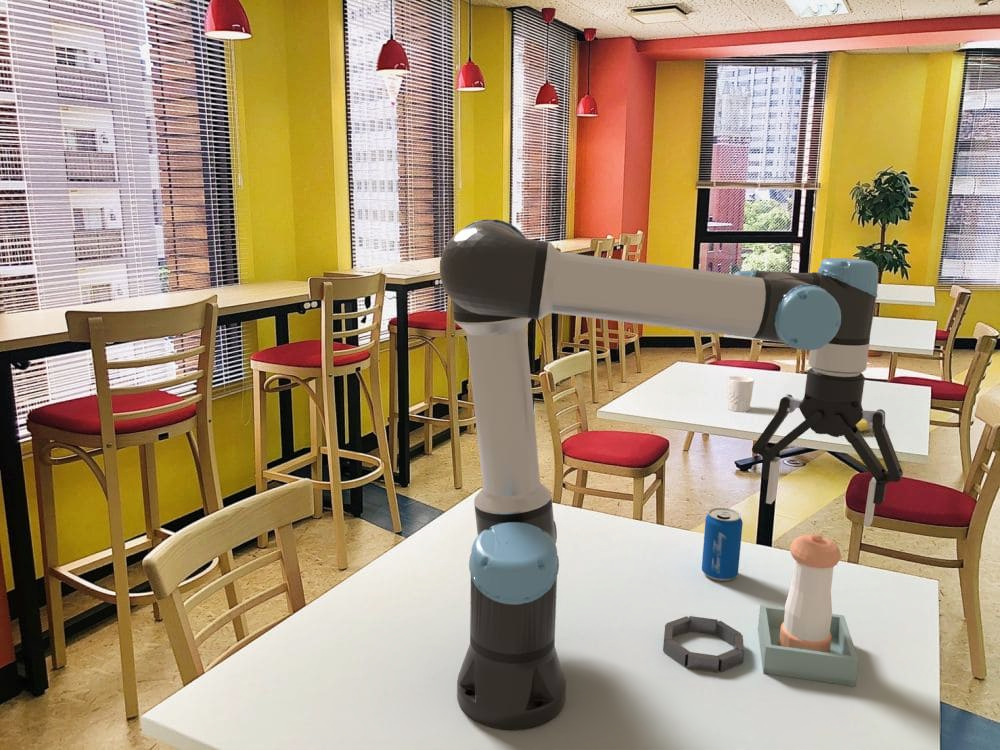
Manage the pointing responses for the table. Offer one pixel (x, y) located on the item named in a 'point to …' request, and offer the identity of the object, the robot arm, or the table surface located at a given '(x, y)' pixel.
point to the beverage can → (722, 544)
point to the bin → (807, 652)
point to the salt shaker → (810, 594)
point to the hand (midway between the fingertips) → (817, 512)
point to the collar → (698, 659)
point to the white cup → (739, 393)
